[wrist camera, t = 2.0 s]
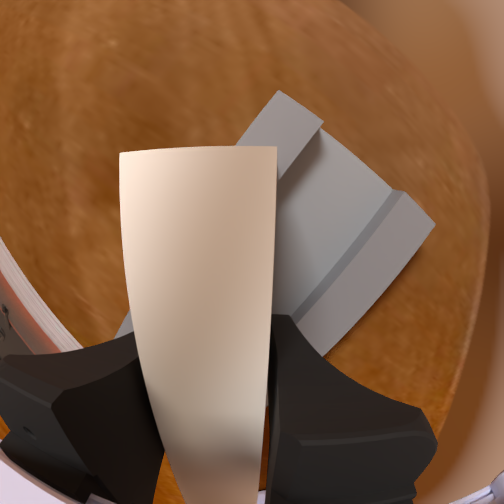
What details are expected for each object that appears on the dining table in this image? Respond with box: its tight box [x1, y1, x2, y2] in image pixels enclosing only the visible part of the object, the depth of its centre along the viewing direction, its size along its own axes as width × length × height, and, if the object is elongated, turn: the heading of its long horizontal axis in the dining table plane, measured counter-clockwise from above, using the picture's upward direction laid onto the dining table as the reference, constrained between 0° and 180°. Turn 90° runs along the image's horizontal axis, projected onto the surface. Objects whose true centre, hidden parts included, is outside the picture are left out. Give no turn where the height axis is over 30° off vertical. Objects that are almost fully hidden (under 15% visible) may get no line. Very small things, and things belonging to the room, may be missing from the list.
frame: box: [120, 146, 277, 504], centre depth 9 cm, size 3×12×6 cm, turn 179°
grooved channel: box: [114, 90, 436, 408], centre depth 12 cm, size 8×16×2 cm, turn 144°
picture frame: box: [0, 237, 83, 360], centre depth 16 cm, size 16×2×22 cm
